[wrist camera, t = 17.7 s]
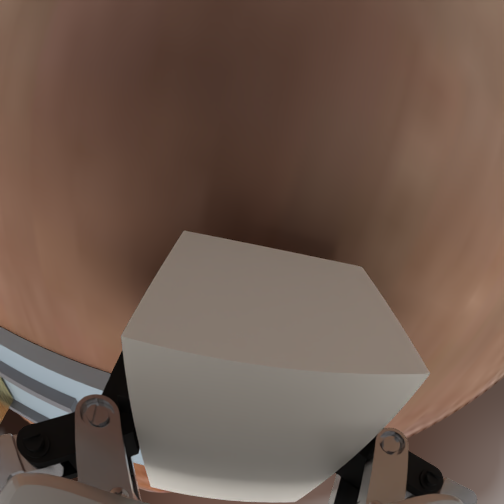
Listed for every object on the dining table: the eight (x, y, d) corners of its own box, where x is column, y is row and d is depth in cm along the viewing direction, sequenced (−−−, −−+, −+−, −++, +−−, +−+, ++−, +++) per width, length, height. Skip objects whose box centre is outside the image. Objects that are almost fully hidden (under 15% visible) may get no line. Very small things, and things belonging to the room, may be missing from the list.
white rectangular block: (183, 230, 9) (121, 335, 4) (362, 266, 9) (429, 373, 5) (170, 400, 12) (150, 486, 8) (287, 417, 13) (295, 501, 8)
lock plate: (-34, 306, 14) (-50, 322, 11) (272, 406, 16) (274, 439, 14) (7, 392, 19) (-2, 407, 16) (238, 468, 21) (237, 490, 18)
